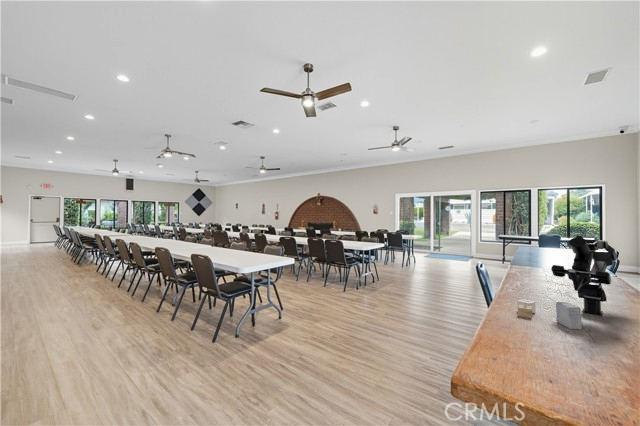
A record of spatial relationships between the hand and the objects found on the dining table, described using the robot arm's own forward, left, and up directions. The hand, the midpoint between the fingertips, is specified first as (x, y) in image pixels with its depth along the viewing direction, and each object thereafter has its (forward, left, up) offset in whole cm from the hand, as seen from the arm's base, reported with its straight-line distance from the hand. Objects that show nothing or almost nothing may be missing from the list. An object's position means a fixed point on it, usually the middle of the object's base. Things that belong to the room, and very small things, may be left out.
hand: (575, 290), depth 119 cm
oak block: (+8, -17, -13) cm, 23 cm away
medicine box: (+10, -2, -13) cm, 16 cm away
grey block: (+1, -18, -13) cm, 22 cm away
